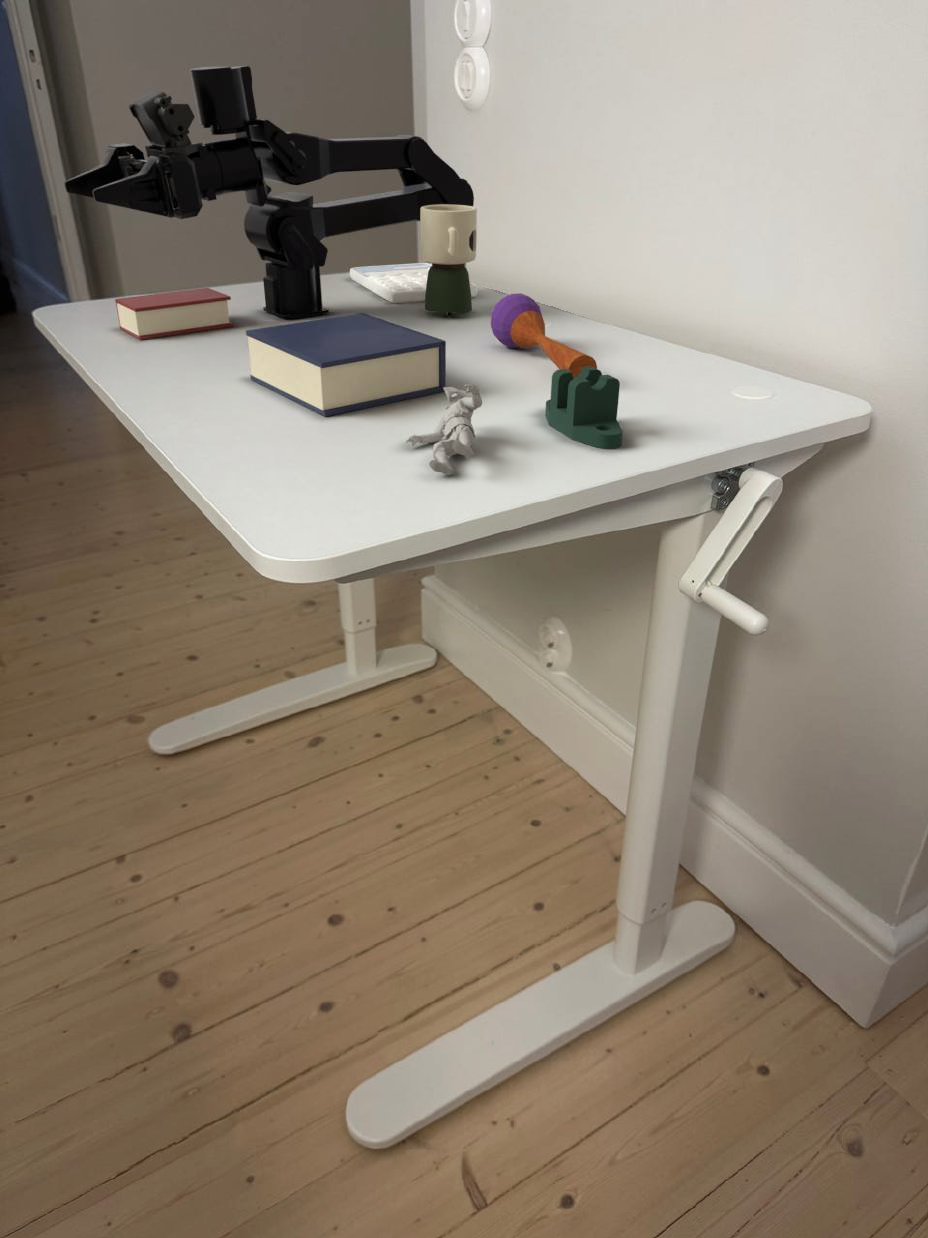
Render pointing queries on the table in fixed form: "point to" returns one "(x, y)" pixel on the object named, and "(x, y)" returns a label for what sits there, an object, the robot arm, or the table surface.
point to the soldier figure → (453, 429)
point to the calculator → (397, 281)
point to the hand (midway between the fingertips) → (79, 191)
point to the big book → (347, 362)
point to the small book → (173, 313)
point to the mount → (585, 407)
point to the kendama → (533, 332)
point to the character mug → (448, 255)
